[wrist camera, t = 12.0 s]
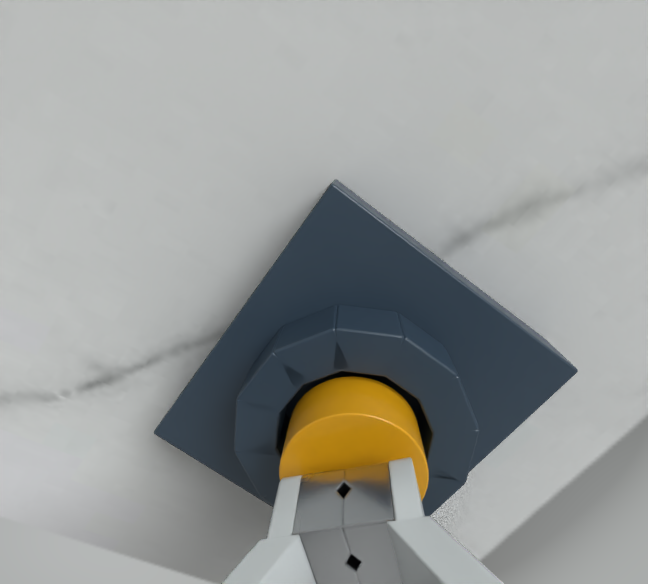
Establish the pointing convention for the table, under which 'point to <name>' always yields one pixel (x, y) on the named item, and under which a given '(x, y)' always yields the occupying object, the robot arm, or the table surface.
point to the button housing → (364, 352)
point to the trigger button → (352, 430)
